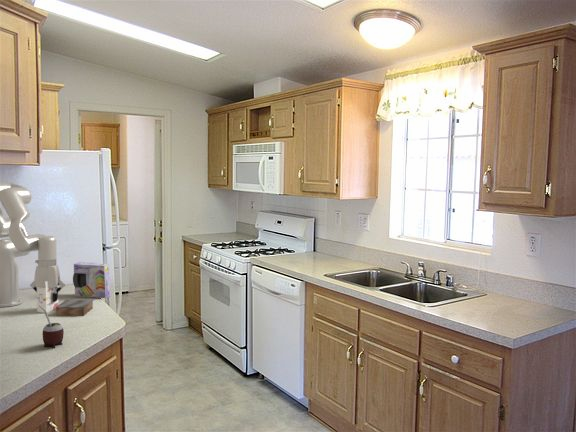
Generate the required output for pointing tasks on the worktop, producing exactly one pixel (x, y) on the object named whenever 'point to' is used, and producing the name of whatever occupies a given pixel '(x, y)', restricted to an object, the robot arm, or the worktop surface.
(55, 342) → the mate gourd
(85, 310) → the display podium
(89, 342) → the worktop surface
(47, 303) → the ink cartridge box
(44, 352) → the worktop surface
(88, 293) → the cake pan box
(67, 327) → the worktop surface
